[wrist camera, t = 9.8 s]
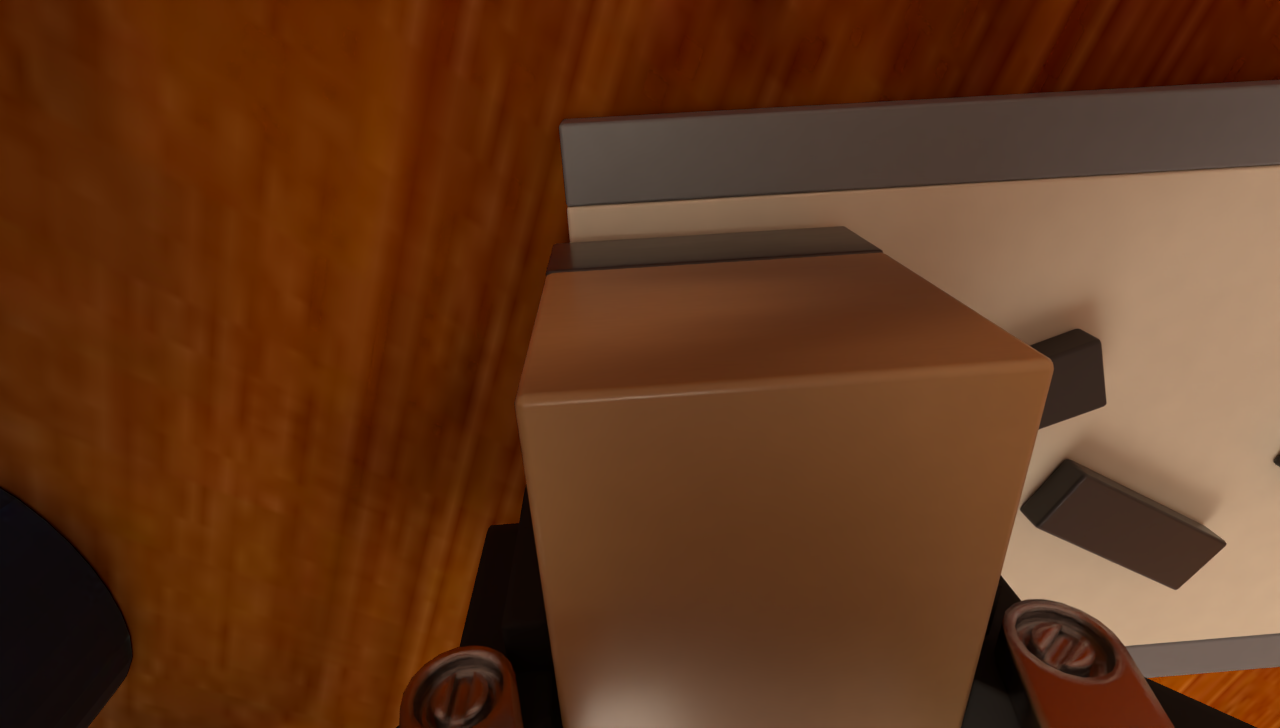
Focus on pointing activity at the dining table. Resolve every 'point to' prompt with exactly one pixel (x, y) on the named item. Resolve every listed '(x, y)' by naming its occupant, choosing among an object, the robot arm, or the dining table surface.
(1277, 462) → the stroke
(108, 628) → the book
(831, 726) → the eraser
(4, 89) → the dining table surface
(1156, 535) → the stroke
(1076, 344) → the stroke
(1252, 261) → the whiteboard
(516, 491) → the dining table surface
